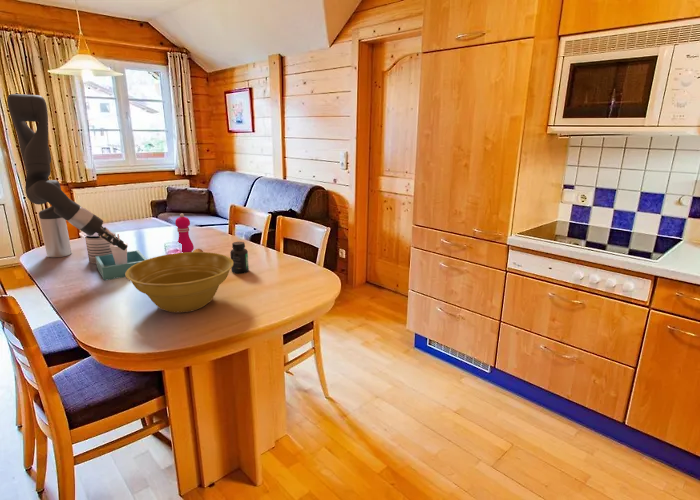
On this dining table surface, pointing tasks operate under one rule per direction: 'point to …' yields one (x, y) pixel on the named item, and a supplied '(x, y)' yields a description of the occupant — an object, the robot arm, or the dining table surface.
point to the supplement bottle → (239, 258)
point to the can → (97, 247)
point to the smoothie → (119, 253)
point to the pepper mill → (184, 233)
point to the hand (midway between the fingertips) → (124, 246)
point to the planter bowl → (180, 279)
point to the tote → (117, 271)
